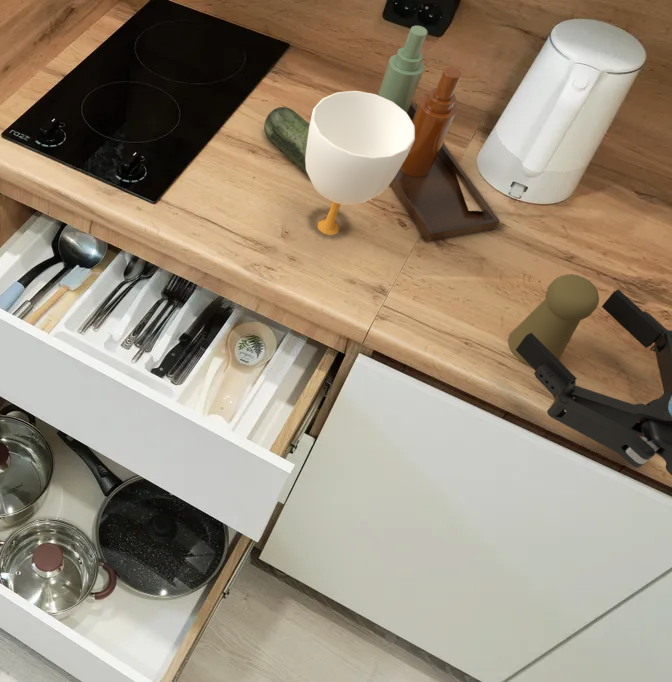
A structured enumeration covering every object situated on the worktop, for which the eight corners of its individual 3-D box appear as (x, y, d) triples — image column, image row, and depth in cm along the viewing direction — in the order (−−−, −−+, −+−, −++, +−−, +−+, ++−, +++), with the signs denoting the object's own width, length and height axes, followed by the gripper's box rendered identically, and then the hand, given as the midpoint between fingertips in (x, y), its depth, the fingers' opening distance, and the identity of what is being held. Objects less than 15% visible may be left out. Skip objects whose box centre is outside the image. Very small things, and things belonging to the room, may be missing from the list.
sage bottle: (397, 113, 118) (433, 20, 105) (404, 135, 115) (441, 42, 103) (365, 112, 117) (397, 18, 105) (371, 134, 114) (404, 40, 102)
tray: (493, 232, 105) (500, 221, 103) (424, 245, 103) (430, 233, 101) (400, 102, 120) (405, 91, 118) (339, 111, 118) (342, 99, 116)
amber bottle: (426, 154, 113) (466, 61, 101) (434, 177, 110) (476, 85, 98) (393, 153, 112) (429, 59, 100) (399, 176, 109) (438, 83, 97)
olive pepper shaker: (567, 344, 95) (616, 283, 86) (549, 377, 92) (598, 318, 83) (519, 318, 97) (562, 257, 88) (500, 350, 94) (543, 289, 85)
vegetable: (346, 179, 109) (355, 150, 105) (318, 193, 107) (326, 164, 103) (279, 121, 116) (286, 92, 111) (252, 134, 113) (258, 104, 109)
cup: (342, 189, 108) (379, 82, 94) (390, 250, 102) (437, 145, 88) (266, 210, 105) (292, 101, 91) (310, 274, 99) (346, 168, 85)
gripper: (620, 546, 77) (470, 380, 87) (779, 441, 85) (626, 301, 96) (665, 514, 71) (499, 339, 81) (832, 404, 79) (662, 259, 90)
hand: (567, 318), depth 88 cm, fingers open, 13 cm apart
